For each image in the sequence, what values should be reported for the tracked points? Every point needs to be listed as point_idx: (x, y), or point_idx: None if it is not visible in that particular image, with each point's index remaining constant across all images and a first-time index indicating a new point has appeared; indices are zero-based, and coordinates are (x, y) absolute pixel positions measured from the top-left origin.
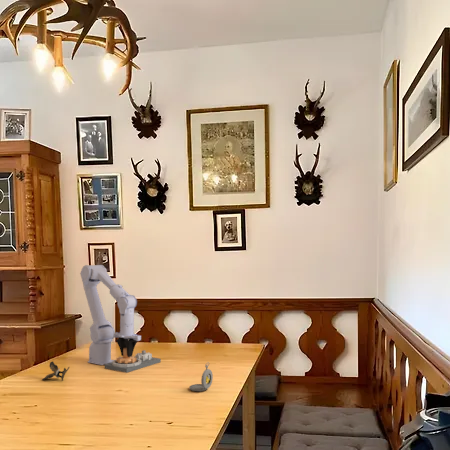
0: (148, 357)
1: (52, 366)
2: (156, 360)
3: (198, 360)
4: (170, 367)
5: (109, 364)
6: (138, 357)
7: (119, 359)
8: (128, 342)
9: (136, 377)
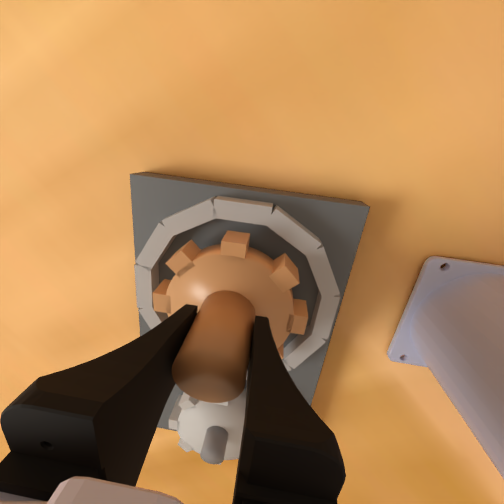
0: (178, 407)
1: None
2: None
3: None
4: (45, 350)
5: (334, 227)
6: None
7: (231, 242)
8: (36, 385)
9: (3, 99)
